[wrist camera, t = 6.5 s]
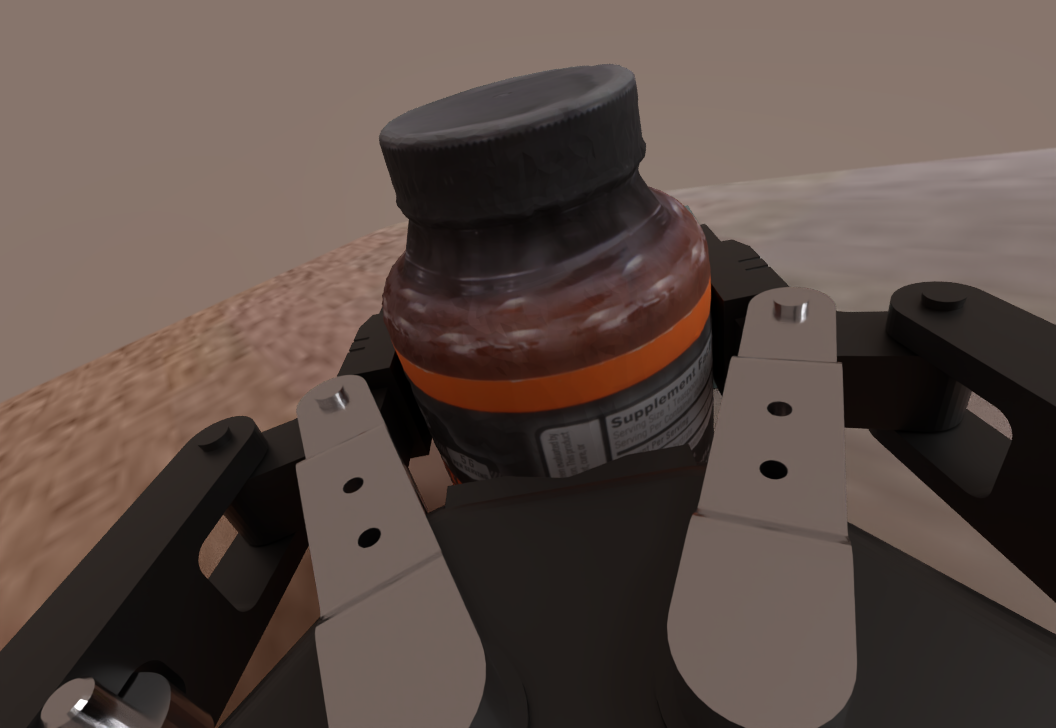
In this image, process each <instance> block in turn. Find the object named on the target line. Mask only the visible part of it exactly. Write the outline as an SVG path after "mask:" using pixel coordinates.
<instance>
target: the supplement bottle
mask: <svg viewBox="0 0 1056 728" xmlns="http://www.w3.org/2000/svg"><path fill="white" fill-rule="evenodd" d="M379 141H380V146H381V149H382V152H383V155H384V159H385V162H386V165H387V168H388V171H389V174H390V177H391V181H392V184H393V187H394V189H395V192H396V203H397V206H398V207H399V208H400V209H401V211H402V212H403V214H404V215H405V216H406V217H407V218H408V219H409V224H408V234H407V244H406V250H405V251H404V253H403V254H402V255H401V256H400V257H399V258H398V260H397V261H396V263H395V264H394V265H393V266H392V268H391V271H390V273H389V275H388V277H387V278H386V283H385V287H384V293H383V295H382V297H383V301H382V306H383V313H384V316H383V320H384V323H385V325H386V327H387V330H388V332H389V334H390V338H391V341H392V343H393V346H394V348H395V350H396V353H397V355H398V357H399V359H400V362H401V364H402V366H403V370H404V374H405V376H406V378H407V379H408V381H409V382H410V384H411V388H412V392H413V395H414V397H415V400H416V402H417V404H418V406H419V408H420V410H421V413H422V414H423V416H424V418H425V421H426V424H427V427H428V429H429V432H430V434H431V436H432V438H433V440H434V443H435V445H436V447H437V449H438V451H439V453H440V454H441V457H442V460H443V462H444V465H445V468H446V470H447V472H448V474H449V476H450V478H451V481H452V483H453V485H458V484H463V483H469V482H475V481H480V480H486V479H492V478H498V477H503V476H515V477H551V478H565V477H570V476H573V475H576V474H579V473H581V472H584V471H586V470H589V469H592V468H594V467H597V466H599V465H602V464H605V463H607V462H610V461H612V460H615V459H618V458H620V457H623V456H625V455H629V454H634V453H640V452H646V451H651V450H657V449H663V448H668V447H674V446H680V445H685V444H689V446H690V448H691V451H692V453H693V456H694V458H695V460H696V462H708V460H709V455H710V451H711V446H712V442H713V437H714V427H713V425H714V419H713V417H714V406H713V400H714V398H713V335H712V312H711V311H710V308H711V276H710V262H709V254H708V245H707V241H706V237H705V234H704V232H703V230H702V228H701V226H700V225H699V223H698V222H697V220H696V219H695V217H694V216H693V215H692V213H691V212H690V211H689V210H688V209H686V208H685V207H684V205H682V204H681V203H680V202H679V201H678V200H676V199H675V198H673V197H671V196H669V195H668V194H666V193H664V192H662V191H660V190H657V189H654V188H652V187H648V186H647V184H646V183H645V182H644V180H643V179H642V177H641V176H640V174H639V171H638V167H639V163H640V162H641V161H642V159H643V158H644V157H645V151H646V143H645V142H644V140H643V138H642V132H641V124H640V116H639V109H638V94H637V87H636V81H635V76H634V74H633V72H631V71H630V70H628V69H627V68H624V67H621V66H620V65H614V64H602V65H596V66H577V67H569V68H563V69H554V70H549V71H543V72H538V73H534V74H529V75H524V76H519V77H513V78H510V79H506V80H502V81H498V82H495V83H491V84H488V85H483V86H480V87H476V88H473V89H470V90H467V91H464V92H461V93H458V94H455V95H452V96H449V97H446V98H443V99H441V100H437V101H435V102H432V103H429V104H426V105H424V106H421V107H418V108H415V109H413V110H410V111H408V112H406V113H404V114H402V115H400V116H399V117H397V118H395V119H393V120H392V121H390V122H389V123H388V124H387V125H386V126H385V127H384V128H383V129H382V131H381V133H380V136H379Z"/></svg>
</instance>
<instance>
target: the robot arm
mask: <svg viewBox="0 0 1056 728" xmlns="http://www.w3.org/2000/svg"><path fill="white" fill-rule="evenodd" d="M700 226H701V228H702V230H703V232H704V234H705V237H706V241H707V245H708V254H709V262H710V276H711V308H710V311H711V312H712V335H713V380H714V382H715V384H716V386H717V388H718V390H719V392H720V393H721V395H722V401H721V406H720V410H719V415H718V419H717V424H716V428H715V433H714V437H713V442H712V446H711V451H710V455H709V460H708V462H696V460H695V458H694V456H693V453H692V451H691V448H690V446H689V444H685V445H680V446H674V447H668V448H663V449H657V450H651V451H646V452H640V453H634V454H629V455H625V456H623V457H620V458H618V459H615V460H612V461H610V462H607V463H605V464H602V465H599V466H597V467H594V468H592V469H589V470H586V471H584V472H581V473H579V474H576V475H573V476H570V477H565V478H551V477H515V476H503V477H498V478H492V479H486V480H480V481H475V482H469V483H463V484H458V485H452V486H448V488H447V496H446V504H445V506H442V507H440V508H438V509H436V510H434V511H432V512H430V513H429V511H428V509H427V507H426V505H425V502H424V500H423V498H422V496H421V494H420V492H419V490H418V487H417V485H416V483H415V481H414V479H413V477H412V475H411V473H410V470H409V468H408V466H409V461H410V458H414V457H420V456H425V455H429V452H430V446H431V441H432V436H431V434H430V432H429V429H428V427H427V424H426V421H425V418H424V416H423V414H422V413H421V410H420V408H419V406H418V404H417V402H416V400H415V397H414V395H413V392H412V388H411V384H410V382H409V381H408V379H407V378H406V376H405V374H404V370H403V366H402V364H401V362H400V359H399V357H398V355H397V353H396V350H395V348H394V346H393V343H392V341H391V338H390V334H389V332H388V330H387V327H386V325H385V323H384V320H383V316H384V313H383V306H382V309H381V311H380V313H379V314H376V315H372V316H371V317H370V318H369V319H368V320H367V321H366V322H365V323H364V324H363V325H362V326H361V327H360V328H359V330H358V332H357V334H356V337H355V339H354V342H353V343H352V345H351V347H350V349H349V352H350V353H348V354H347V356H346V358H345V360H344V362H343V364H342V367H341V369H340V371H339V373H338V375H337V377H335V378H332V379H330V380H327V381H325V382H323V383H321V384H319V385H317V386H316V387H314V388H313V389H311V390H310V391H309V392H308V393H306V394H305V395H304V397H303V398H302V399H301V400H300V402H299V403H298V405H297V409H296V413H297V418H296V419H294V420H292V421H289V422H287V423H284V424H282V425H279V426H277V427H274V428H272V429H269V430H267V431H264V432H262V433H261V431H260V430H259V428H258V427H257V425H256V424H255V422H254V421H253V419H251V418H250V417H247V416H236V417H231V418H227V419H224V420H221V421H219V422H217V423H214V424H212V425H210V426H209V427H207V428H205V429H204V430H202V431H201V432H199V433H198V434H196V435H195V436H194V437H193V438H192V439H190V440H189V441H188V442H187V444H186V445H185V446H184V447H183V448H182V449H181V450H180V451H179V452H178V454H177V455H176V456H175V457H174V458H173V459H172V460H171V461H170V462H169V464H168V465H167V466H166V467H165V468H164V469H163V470H162V471H161V473H160V474H159V475H158V476H157V477H156V478H155V479H154V480H153V481H152V483H151V484H150V485H149V486H148V487H147V488H146V489H145V490H144V492H143V493H142V494H141V495H140V496H139V497H138V498H137V499H136V501H135V502H134V503H133V504H132V505H131V506H130V507H129V508H128V509H127V511H126V512H125V513H124V514H123V515H122V516H121V517H120V518H119V520H118V521H117V522H116V523H115V524H114V525H113V526H112V527H111V528H110V530H109V531H108V532H107V533H106V534H105V535H104V536H103V537H102V539H101V540H100V541H99V542H98V543H97V544H96V545H95V546H94V547H93V549H92V550H91V551H90V552H89V553H88V554H87V555H86V556H85V558H84V559H83V560H82V561H81V562H80V563H79V564H78V565H77V566H76V568H75V569H74V570H73V571H72V572H71V573H70V574H69V575H68V577H67V578H66V579H65V580H64V581H63V582H62V583H61V584H60V586H59V587H58V588H57V589H56V590H55V591H54V592H53V593H52V594H51V596H50V597H49V598H48V599H47V600H46V601H45V602H44V603H43V605H42V606H41V607H40V608H39V609H38V610H37V611H36V612H35V613H34V615H33V616H32V617H31V618H30V619H29V620H28V621H27V622H26V624H25V625H24V626H23V627H22V628H21V629H20V630H19V631H18V632H17V634H16V635H15V636H14V637H13V638H12V639H11V640H10V641H9V643H8V644H7V645H6V646H5V647H4V648H3V649H2V650H1V651H0V728H215V726H216V724H217V722H218V720H219V718H220V716H221V714H222V712H223V710H224V708H225V706H226V704H227V702H228V701H229V699H230V697H231V695H232V693H233V691H234V689H235V687H236V685H237V683H238V681H239V679H240V677H241V675H242V673H243V672H244V670H245V668H246V666H247V664H248V662H249V660H250V658H251V656H252V654H253V652H254V650H255V648H256V646H257V644H258V643H259V641H260V639H261V637H262V635H263V633H264V631H265V629H266V627H267V625H268V623H269V621H270V619H271V617H272V615H273V614H274V612H275V610H276V608H277V606H278V604H279V602H280V600H281V598H282V596H283V594H284V592H285V590H286V588H287V586H288V585H289V583H290V581H291V579H292V577H293V575H294V573H295V571H296V569H297V567H298V565H299V563H300V561H301V559H302V557H303V556H304V554H305V552H306V550H307V548H308V546H309V548H310V553H311V559H312V565H313V571H314V577H315V582H316V588H317V594H318V600H319V605H320V618H319V619H318V620H317V621H316V622H315V623H314V624H313V625H312V626H311V627H310V628H309V630H308V631H307V632H306V633H305V634H304V635H303V636H302V637H301V638H300V639H299V640H298V642H297V643H296V644H295V645H294V646H293V647H292V648H291V649H290V650H289V651H288V652H287V654H286V655H285V656H284V657H283V658H282V659H281V660H280V661H279V662H278V663H277V664H276V666H275V667H274V668H273V669H272V670H271V671H270V672H269V673H268V674H267V675H266V676H265V677H264V679H263V680H262V681H261V682H260V683H259V684H258V685H257V686H256V687H255V688H254V689H253V691H252V692H251V693H250V694H249V695H248V696H247V697H246V698H245V699H244V700H243V701H242V703H241V704H240V705H239V706H238V707H237V708H236V709H235V710H234V711H233V712H232V713H231V714H230V716H229V717H228V718H227V719H226V720H225V721H224V722H223V723H222V724H221V725H220V726H219V728H1056V634H1054V633H1052V632H1050V631H1048V630H1046V629H1045V628H1043V627H1041V626H1039V625H1037V624H1035V623H1033V622H1032V621H1030V620H1028V619H1026V618H1024V617H1022V616H1021V615H1019V614H1017V613H1015V612H1013V611H1011V610H1009V609H1008V608H1006V607H1004V606H1002V605H1000V604H998V603H997V602H995V601H993V600H991V599H989V598H987V597H985V596H984V595H982V594H980V593H978V592H976V591H974V590H973V589H971V588H969V587H967V586H965V585H963V584H962V583H960V582H958V581H956V580H954V579H952V578H950V577H949V576H947V575H945V574H943V573H941V572H939V571H938V570H936V569H934V568H932V567H930V566H928V565H926V564H925V563H923V562H921V561H919V560H917V559H915V558H914V557H912V556H910V555H908V554H906V553H904V552H903V551H901V550H899V549H897V548H895V547H893V546H891V545H890V544H888V543H886V542H884V541H882V540H880V539H879V538H877V537H875V536H873V535H871V534H869V533H867V532H866V531H864V530H862V529H860V528H858V527H856V526H855V525H853V524H851V523H849V522H847V500H846V468H845V436H844V428H864V429H869V431H870V433H871V434H872V435H873V436H874V437H875V438H876V439H877V440H878V441H879V442H880V443H881V444H882V445H883V446H884V447H885V448H887V449H888V450H889V451H890V452H891V453H892V454H893V455H894V456H895V457H896V458H897V459H899V460H900V461H901V462H902V463H903V464H904V465H905V466H906V467H907V468H908V469H910V470H911V471H912V472H913V473H914V474H915V475H916V476H917V477H918V478H919V479H921V480H922V481H923V482H924V483H925V484H926V485H927V486H928V487H929V488H930V489H932V490H933V491H934V492H935V493H936V494H937V495H938V496H939V497H940V498H941V499H942V500H944V501H945V502H946V503H947V504H948V505H949V506H950V507H951V508H952V509H953V510H955V511H956V512H957V513H958V514H959V515H960V516H961V517H962V518H963V519H964V520H966V521H967V522H968V523H969V524H970V525H971V526H972V527H973V528H974V529H975V530H977V531H978V532H979V533H980V534H981V535H982V536H983V537H984V538H985V539H986V540H988V541H989V542H990V543H991V544H992V545H993V546H994V547H995V548H996V549H997V550H998V551H1000V552H1001V553H1002V554H1003V555H1004V556H1005V557H1006V558H1007V559H1008V560H1009V561H1011V562H1012V563H1013V564H1014V565H1015V566H1016V567H1017V568H1018V569H1019V570H1020V571H1022V572H1023V573H1024V574H1025V575H1026V576H1027V577H1028V578H1029V579H1030V580H1031V581H1033V582H1034V583H1035V584H1036V585H1037V586H1038V587H1039V588H1040V589H1041V590H1042V591H1043V592H1045V593H1046V594H1047V595H1048V596H1049V597H1050V598H1051V599H1052V600H1053V601H1054V602H1056V325H1054V324H1052V323H1050V322H1048V321H1046V320H1044V319H1042V318H1040V317H1037V316H1035V315H1033V314H1031V313H1029V312H1027V311H1025V310H1023V309H1020V308H1018V307H1016V306H1014V305H1012V304H1010V303H1008V302H1006V301H1004V300H1001V299H999V298H997V297H995V296H993V295H991V294H989V293H987V292H984V291H982V290H980V289H977V288H975V287H971V286H968V285H963V284H959V283H952V282H921V283H915V284H911V285H907V286H904V287H902V288H900V289H898V290H897V291H895V292H894V293H893V295H892V297H891V300H890V305H889V311H886V312H839V311H836V306H835V303H834V301H833V300H832V299H831V298H830V297H829V296H827V295H826V294H824V293H822V292H820V291H816V290H813V289H808V288H801V287H789V286H788V285H787V284H786V283H785V282H784V281H783V280H782V279H781V278H780V277H779V276H778V275H777V273H776V272H775V271H774V270H773V269H772V268H771V267H768V264H767V263H766V262H765V261H764V260H763V259H762V258H761V259H760V256H759V255H758V254H757V253H756V252H755V251H754V250H753V249H752V248H751V247H750V246H748V245H745V244H743V243H740V242H737V241H735V240H727V241H722V242H721V241H720V240H719V239H718V238H717V237H716V235H715V234H714V233H713V232H712V231H711V230H710V229H709V227H708V226H707V225H706V224H702V225H700ZM972 391H973V392H974V393H976V394H977V395H979V396H980V397H982V398H983V399H985V400H986V401H988V402H989V403H991V404H992V405H994V406H995V407H997V408H998V409H999V410H1000V411H1001V412H1002V413H1003V414H1004V415H1005V417H1006V418H1007V420H1008V421H1009V424H1010V426H1011V429H1012V440H1010V439H1009V438H1007V437H1006V436H1004V435H1003V434H1002V433H1000V432H999V431H997V430H996V429H995V428H993V427H992V426H990V425H989V424H987V423H986V422H985V421H983V420H982V419H980V418H979V417H977V416H976V415H975V414H973V413H972V412H970V411H969V410H968V409H966V408H967V405H968V402H969V399H970V395H971V392H972ZM222 515H224V516H225V517H226V518H227V519H228V521H229V522H230V523H231V524H232V525H233V527H234V528H235V529H236V530H237V531H238V535H237V536H236V538H235V539H234V541H233V542H232V544H231V545H230V547H229V548H228V550H227V551H226V553H225V554H224V556H223V557H222V559H221V560H220V562H219V564H218V565H217V567H216V568H215V570H214V571H213V573H212V574H211V576H210V577H209V579H207V578H206V577H205V576H204V575H203V573H202V572H201V570H200V567H199V562H198V558H199V552H200V548H201V546H202V544H203V542H204V541H205V539H206V538H207V536H208V535H209V534H210V532H211V531H212V529H213V528H214V527H215V525H216V524H217V522H218V521H219V519H220V518H221V517H222Z"/></svg>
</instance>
